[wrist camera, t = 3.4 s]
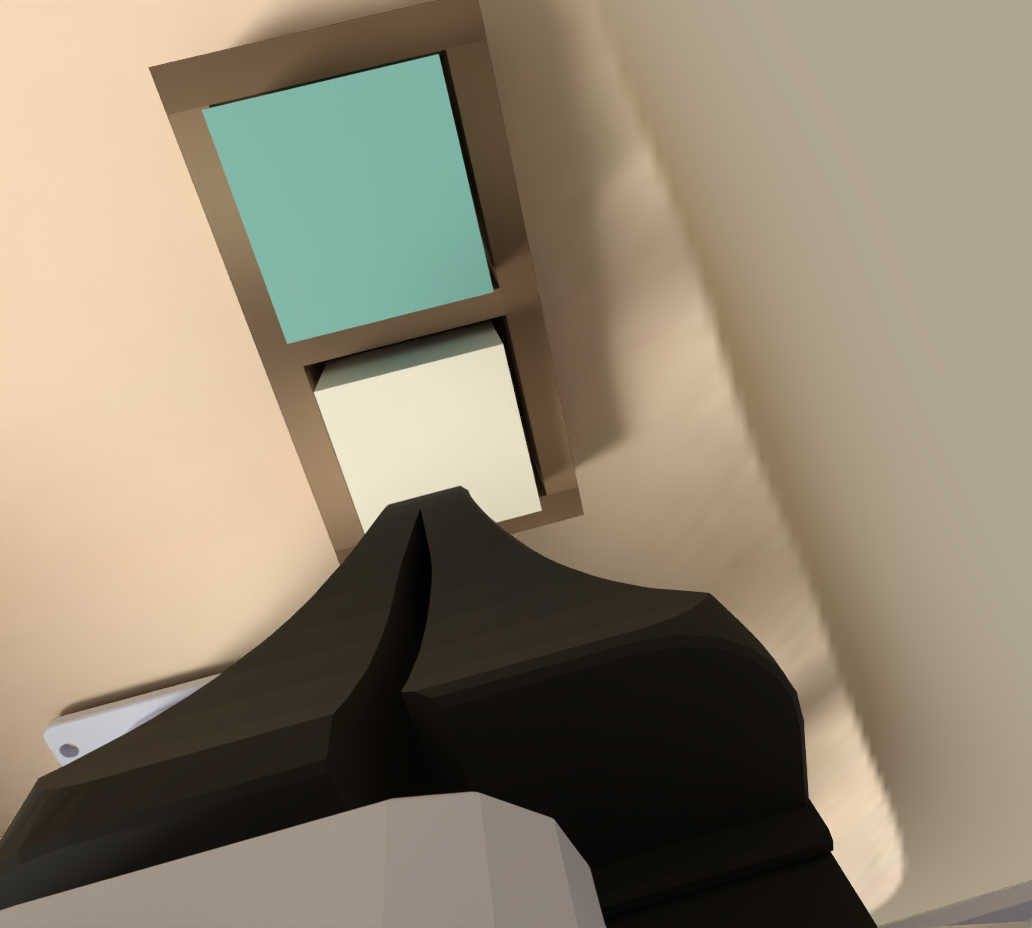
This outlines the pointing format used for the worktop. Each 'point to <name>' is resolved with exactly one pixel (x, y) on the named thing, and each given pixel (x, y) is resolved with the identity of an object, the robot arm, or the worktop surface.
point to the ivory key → (429, 423)
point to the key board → (515, 301)
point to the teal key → (354, 197)
